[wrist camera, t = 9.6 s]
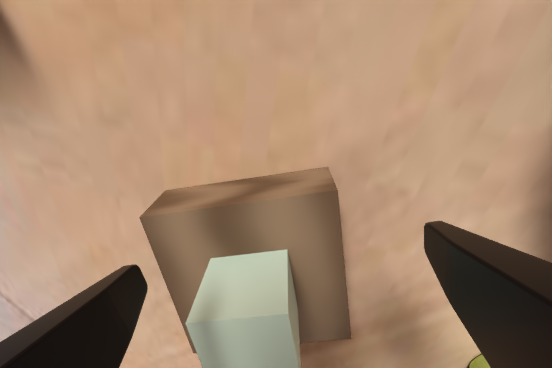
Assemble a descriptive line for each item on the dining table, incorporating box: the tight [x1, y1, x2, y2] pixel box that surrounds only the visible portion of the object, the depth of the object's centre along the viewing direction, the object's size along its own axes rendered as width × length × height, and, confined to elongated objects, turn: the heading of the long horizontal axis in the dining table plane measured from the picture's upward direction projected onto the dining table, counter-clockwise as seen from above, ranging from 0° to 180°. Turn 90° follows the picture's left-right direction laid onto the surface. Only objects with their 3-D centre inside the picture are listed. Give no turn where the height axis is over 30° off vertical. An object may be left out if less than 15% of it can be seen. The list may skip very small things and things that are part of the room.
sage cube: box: [185, 249, 301, 368], centre depth 17 cm, size 5×5×5 cm
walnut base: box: [139, 167, 351, 353], centre depth 21 cm, size 12×12×4 cm
